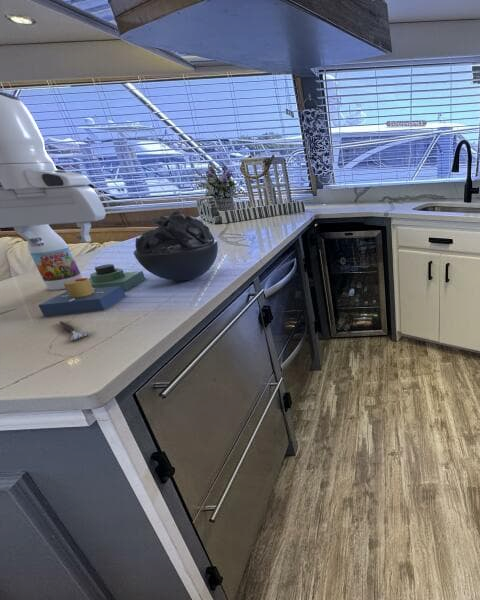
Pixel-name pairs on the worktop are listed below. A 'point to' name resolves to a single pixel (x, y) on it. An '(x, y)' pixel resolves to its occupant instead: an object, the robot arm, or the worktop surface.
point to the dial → (78, 287)
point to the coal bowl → (177, 248)
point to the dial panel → (82, 302)
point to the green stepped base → (117, 279)
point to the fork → (70, 329)
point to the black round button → (105, 269)
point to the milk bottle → (53, 258)
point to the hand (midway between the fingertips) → (62, 244)
